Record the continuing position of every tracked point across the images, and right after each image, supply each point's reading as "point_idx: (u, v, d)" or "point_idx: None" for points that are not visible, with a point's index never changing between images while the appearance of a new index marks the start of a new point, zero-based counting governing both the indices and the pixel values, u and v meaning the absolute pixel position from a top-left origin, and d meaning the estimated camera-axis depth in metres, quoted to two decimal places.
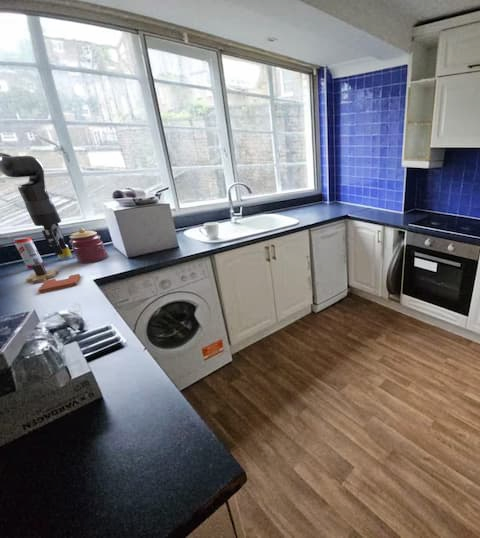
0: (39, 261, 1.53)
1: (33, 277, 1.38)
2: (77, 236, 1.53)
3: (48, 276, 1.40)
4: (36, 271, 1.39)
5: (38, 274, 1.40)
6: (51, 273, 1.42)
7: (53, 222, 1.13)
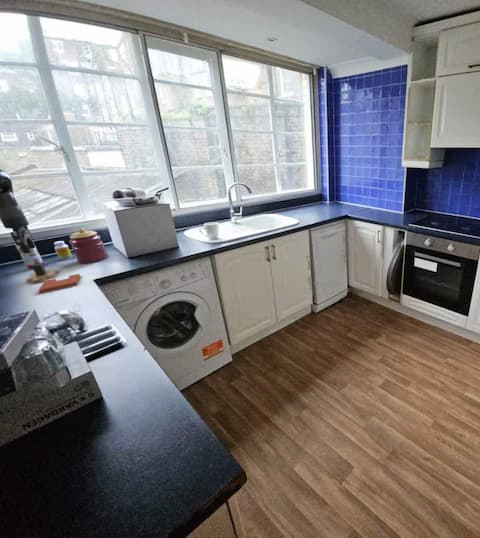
0: (39, 261, 1.53)
1: (33, 277, 1.38)
2: (77, 236, 1.53)
3: (48, 276, 1.40)
4: (36, 271, 1.39)
5: (38, 274, 1.40)
6: (51, 273, 1.42)
7: (21, 225, 1.30)
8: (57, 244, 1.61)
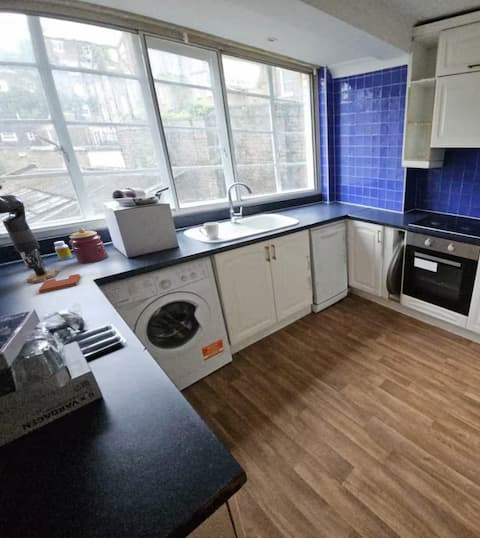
0: None
1: (33, 277, 1.38)
2: (77, 236, 1.53)
3: (48, 276, 1.40)
4: None
5: None
6: (51, 273, 1.42)
7: (32, 248, 1.35)
8: (57, 244, 1.61)
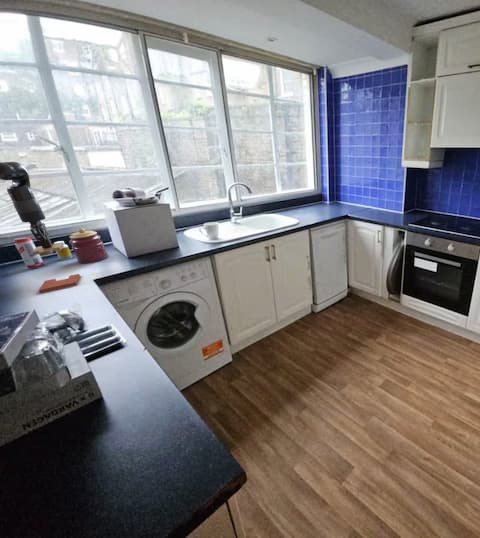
0: (39, 261, 1.53)
1: (39, 249, 1.33)
2: (77, 236, 1.53)
3: (55, 249, 1.35)
4: None
5: None
6: (58, 246, 1.36)
7: (38, 219, 1.30)
8: None
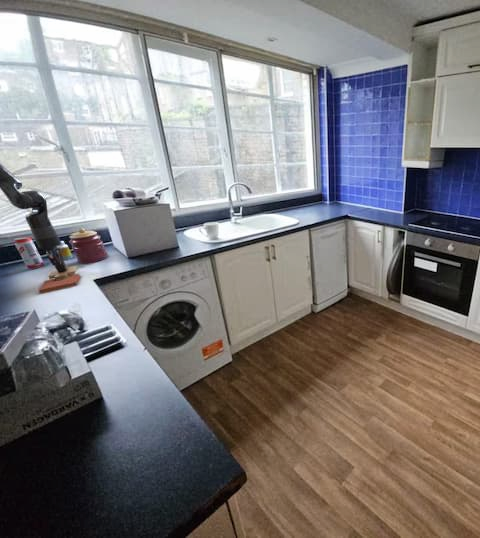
0: (39, 261, 1.53)
1: (55, 274, 1.37)
2: (77, 236, 1.53)
3: (69, 273, 1.39)
4: None
5: None
6: (72, 270, 1.41)
7: (54, 245, 1.34)
8: None
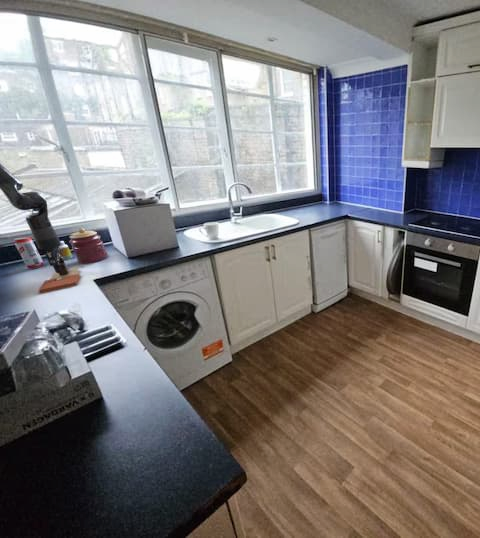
0: (39, 261, 1.53)
1: (56, 277, 1.38)
2: (77, 236, 1.53)
3: None
4: None
5: (61, 274, 1.39)
6: (74, 273, 1.42)
7: (54, 246, 1.34)
8: None
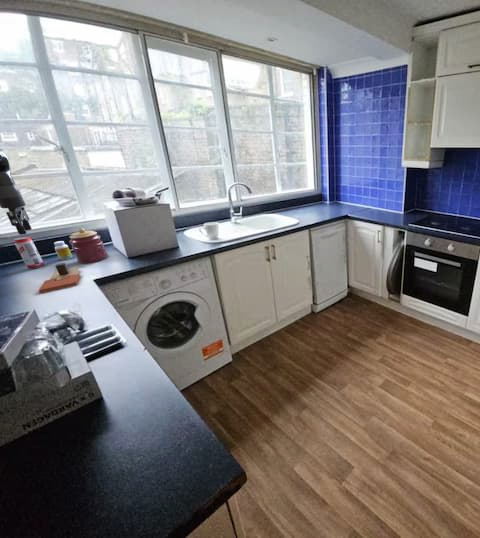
0: (39, 261, 1.53)
1: (56, 277, 1.38)
2: (77, 236, 1.53)
3: None
4: (59, 271, 1.39)
5: (61, 274, 1.39)
6: (74, 273, 1.42)
7: (17, 205, 1.28)
8: (57, 244, 1.61)
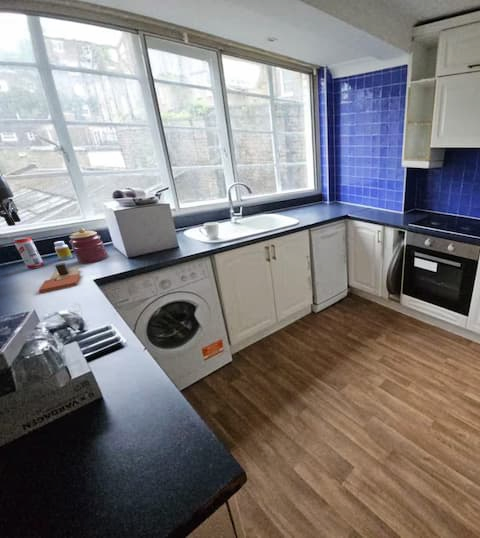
0: (39, 261, 1.53)
1: (56, 277, 1.38)
2: (77, 236, 1.53)
3: None
4: (59, 271, 1.39)
5: (61, 274, 1.39)
6: (74, 273, 1.42)
7: (5, 196, 1.28)
8: (57, 244, 1.61)
